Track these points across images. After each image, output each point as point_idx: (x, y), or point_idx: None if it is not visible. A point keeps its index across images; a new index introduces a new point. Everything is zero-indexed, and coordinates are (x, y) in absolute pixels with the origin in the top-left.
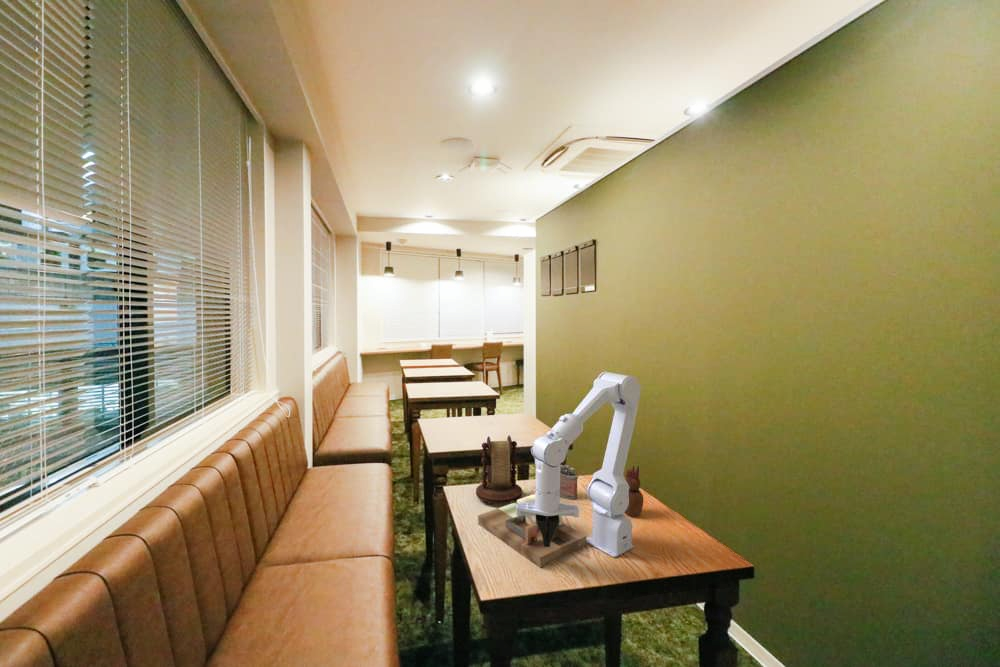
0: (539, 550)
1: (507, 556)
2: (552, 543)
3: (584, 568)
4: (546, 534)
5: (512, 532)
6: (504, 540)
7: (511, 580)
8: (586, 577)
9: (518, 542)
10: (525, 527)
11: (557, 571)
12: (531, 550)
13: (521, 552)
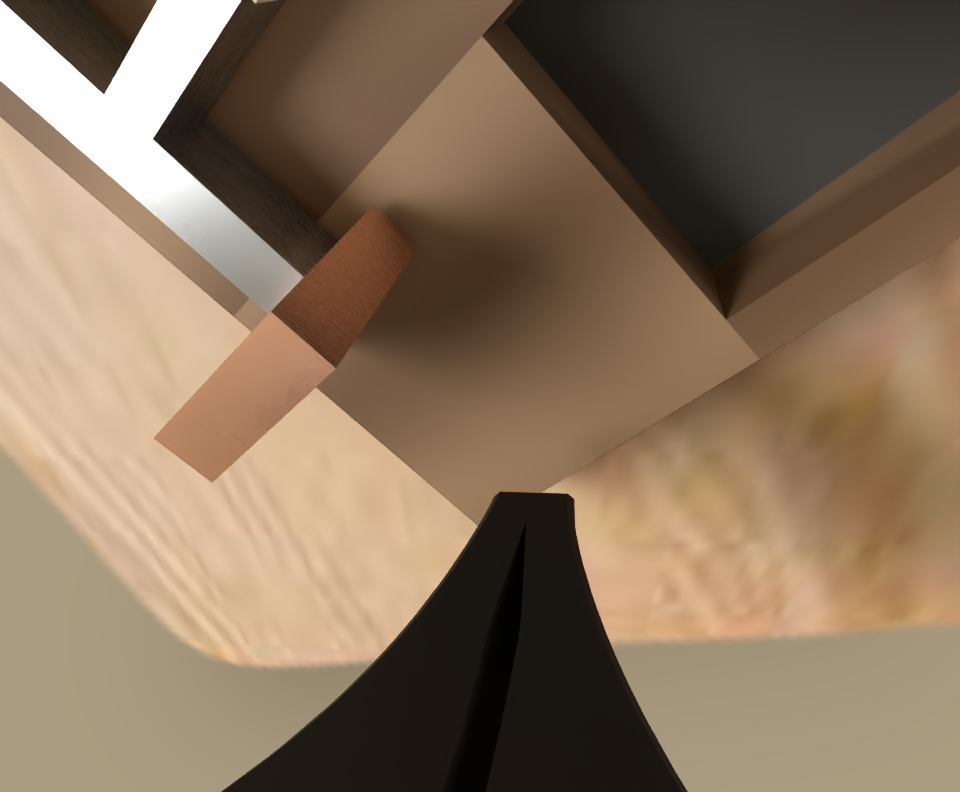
0: (467, 423)
1: (176, 311)
2: (644, 271)
3: (949, 459)
4: (524, 560)
5: None
6: None
7: (304, 574)
8: (907, 564)
9: (195, 281)
10: (161, 432)
11: (653, 497)
12: (378, 429)
13: None
